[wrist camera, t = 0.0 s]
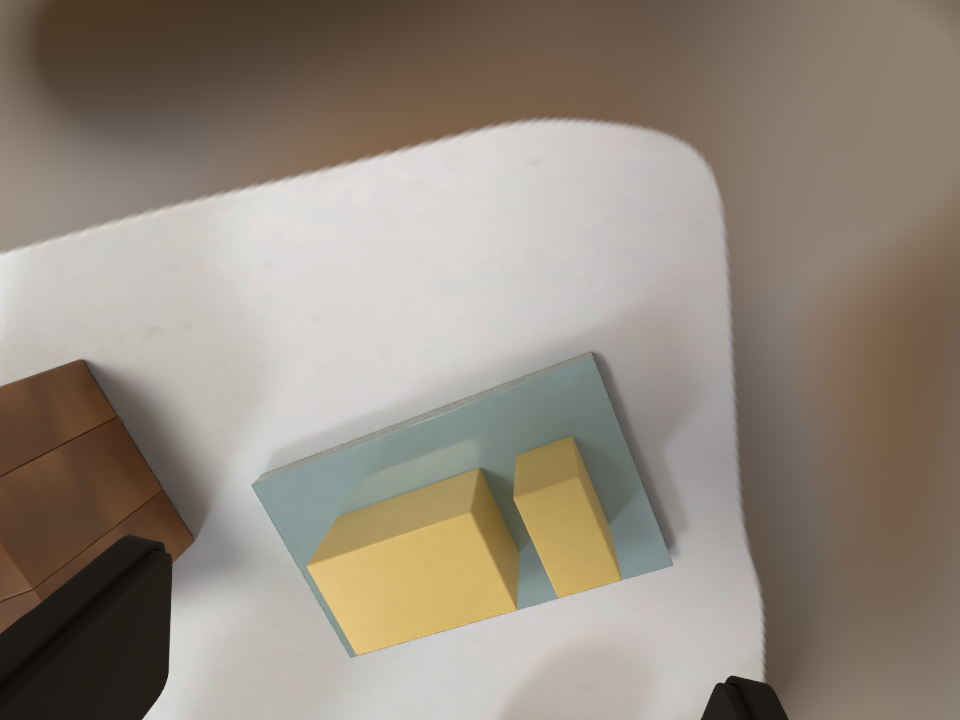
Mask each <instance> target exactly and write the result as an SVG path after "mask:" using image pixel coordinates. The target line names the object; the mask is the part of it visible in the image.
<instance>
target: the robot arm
mask: <svg viewBox="0 0 960 720" xmlns="http://www.w3.org/2000/svg"><path fill="white" fill-rule="evenodd" d="M171 589H172V556H171V554H169V553H166V549H165V545H164V544H163V543H162V542H160V541H155V540H151V539H147V538H143V537H138V536H134V535H125V536H123V537H122V538H120V539H119V540H118V541H116V542H115V543H114V544H113V545H111V546H110V547H109V548H108V549H106V550H105V551H104V552H103V553H101V554H100V555H99V556H98V557H97V558H95V559H94V560H93V561H92V562H90V563H89V564H88V565H87V566H85V567H84V568H83V569H82V570H80V571H79V572H78V573H77V574H76V575H74V576H73V577H72V578H71V579H69V580H68V581H67V582H66V583H64V584H63V585H62V586H61V587H59V588H58V589H57V590H56V591H55V592H53V593H52V594H51V595H50V596H48V597H47V598H46V599H45V600H43V601H42V602H41V603H40V604H38V605H37V606H36V607H35V608H34V609H32V610H31V611H29V612H28V613H26V614H25V615H23V616H22V617H20V618H19V619H18V620H17V621H15V622H14V623H13V624H12V625H10V626H9V627H8V628H7V629H5V630H4V631H3V632H2V633H0V720H142V719H143V718H144V716H145V715H146V714H147V712H148V711H149V710H150V708H151V707H152V706H153V704H154V703H155V702H156V700H157V699H158V698H159V696H160V695H161V693H162V691H163V689H164V687H165V684H166V682H167V678H168V673H169V646H170V618H171ZM701 720H789V719H788V718H787V715H786V713H785V711H784V709H783V707H782V705H781V703H780V701H779V699H778V697H777V695H776V693H775V692H774V690H773V689H772V687H771V686H770V685H768V684H766V683H762V682H758V681H754V680H749V679H745V678H741V677H736V676H730V677H729V678H727V680H726V682H725V683H718V684H716V686H715V687H714V690H713V692H712V694H711V697H710V699H709V702H708V704H707V706H706V709H705V711H704V713H703V716H702V718H701Z"/></svg>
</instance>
